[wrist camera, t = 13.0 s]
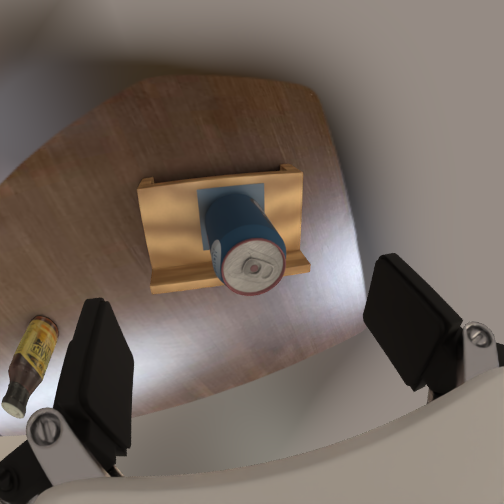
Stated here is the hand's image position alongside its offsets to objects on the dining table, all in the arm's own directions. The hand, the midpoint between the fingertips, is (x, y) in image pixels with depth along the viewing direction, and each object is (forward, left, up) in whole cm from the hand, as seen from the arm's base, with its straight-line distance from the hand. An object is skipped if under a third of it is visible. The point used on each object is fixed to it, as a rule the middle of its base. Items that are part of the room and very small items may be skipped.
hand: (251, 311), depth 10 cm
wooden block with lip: (+8, +2, -31) cm, 32 cm away
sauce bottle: (+25, -33, -31) cm, 52 cm away
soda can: (+7, +3, -26) cm, 27 cm away
